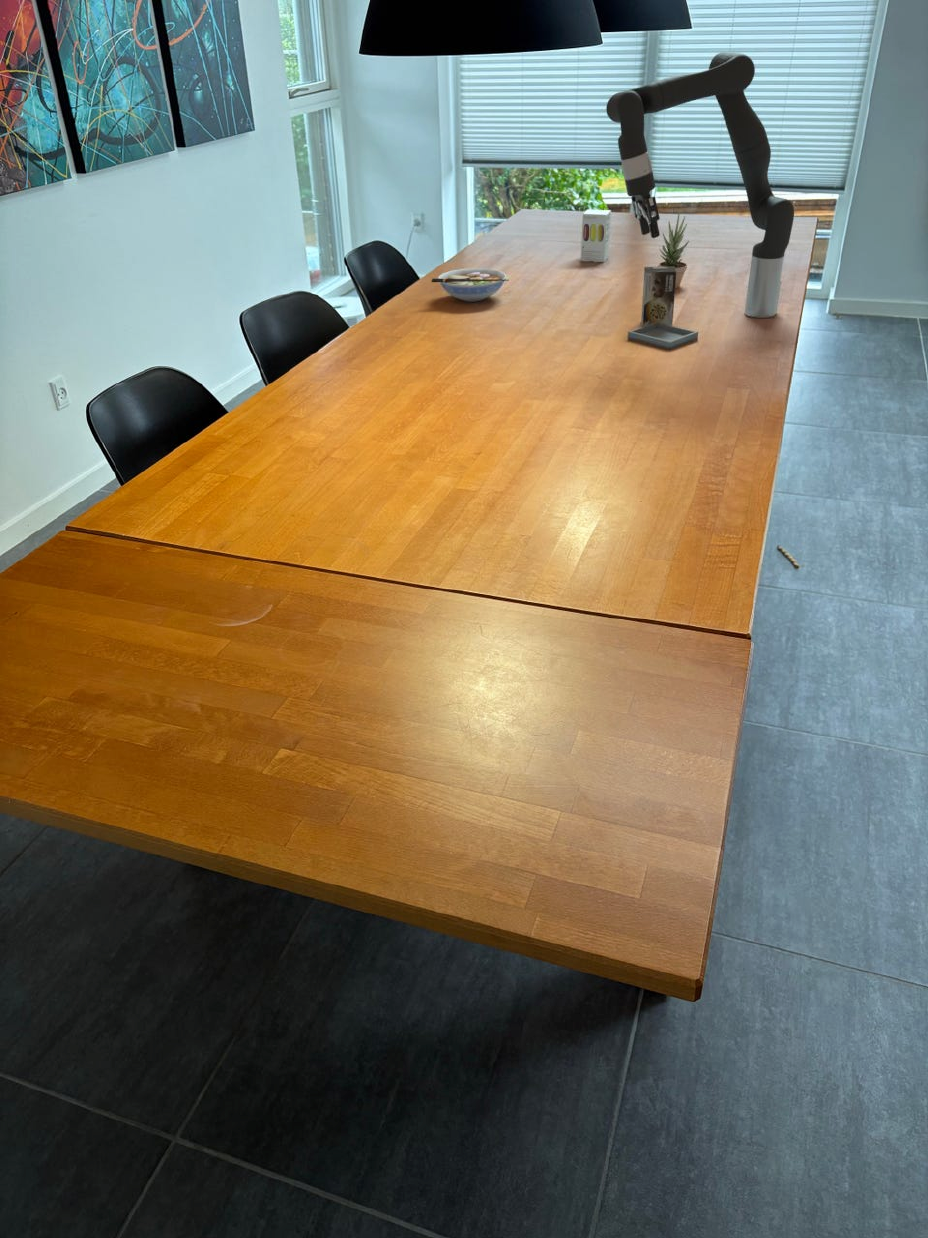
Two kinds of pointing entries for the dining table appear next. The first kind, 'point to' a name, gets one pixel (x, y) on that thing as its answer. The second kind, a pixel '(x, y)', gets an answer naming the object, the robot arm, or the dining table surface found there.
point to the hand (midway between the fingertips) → (650, 235)
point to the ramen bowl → (471, 283)
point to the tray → (663, 335)
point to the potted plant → (674, 252)
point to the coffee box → (658, 295)
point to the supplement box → (595, 235)
